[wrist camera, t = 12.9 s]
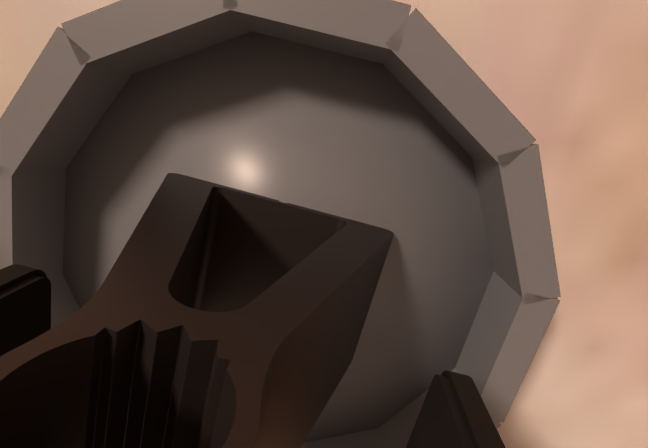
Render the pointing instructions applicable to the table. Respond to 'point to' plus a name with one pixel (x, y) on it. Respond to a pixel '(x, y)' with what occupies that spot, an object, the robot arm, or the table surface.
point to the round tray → (297, 176)
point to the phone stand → (202, 329)
